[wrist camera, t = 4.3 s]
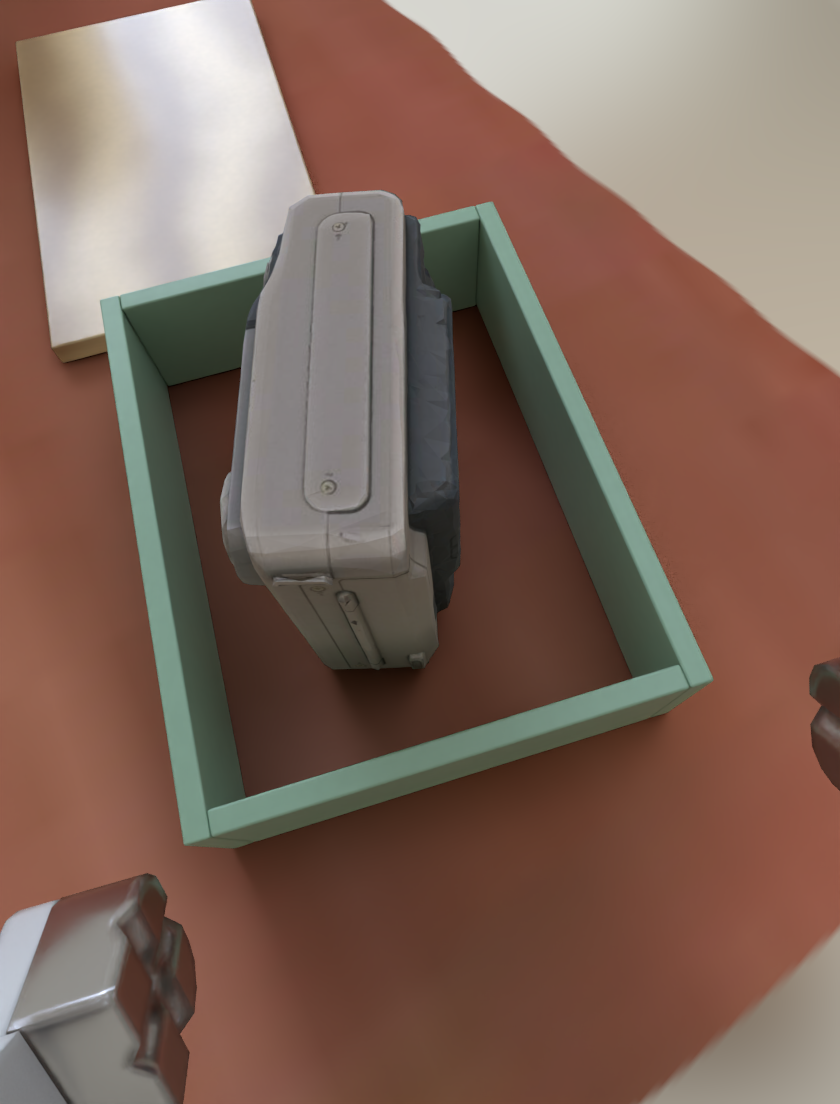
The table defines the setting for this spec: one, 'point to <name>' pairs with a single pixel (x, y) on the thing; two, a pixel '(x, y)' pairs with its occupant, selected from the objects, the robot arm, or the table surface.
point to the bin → (177, 578)
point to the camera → (348, 435)
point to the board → (153, 156)
